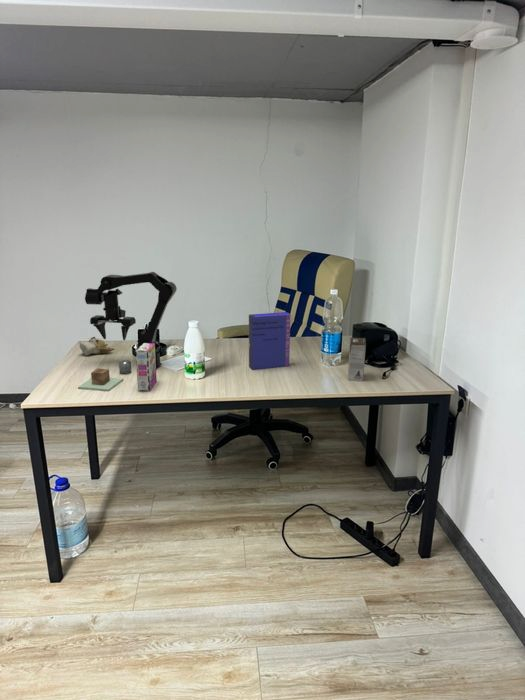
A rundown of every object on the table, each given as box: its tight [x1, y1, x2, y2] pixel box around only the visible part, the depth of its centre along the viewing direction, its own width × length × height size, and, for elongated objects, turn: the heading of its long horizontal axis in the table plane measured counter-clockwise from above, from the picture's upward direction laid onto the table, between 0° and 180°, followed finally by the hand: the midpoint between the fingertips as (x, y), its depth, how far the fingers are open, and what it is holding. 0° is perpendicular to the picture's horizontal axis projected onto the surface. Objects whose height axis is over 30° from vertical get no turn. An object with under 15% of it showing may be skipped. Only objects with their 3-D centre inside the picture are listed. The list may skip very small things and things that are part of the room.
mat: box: [77, 377, 124, 392], centre depth 188 cm, size 13×12×1 cm
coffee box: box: [347, 337, 367, 382], centre depth 195 cm, size 9×6×16 cm
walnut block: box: [90, 368, 111, 385], centre depth 187 cm, size 5×5×5 cm
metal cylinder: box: [118, 359, 133, 376], centre depth 201 cm, size 5×5×5 cm
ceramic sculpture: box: [78, 336, 115, 356], centre depth 226 cm, size 11×9×15 cm
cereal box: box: [248, 311, 291, 371], centre depth 207 cm, size 17×5×24 cm, turn 108°
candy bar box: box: [135, 343, 158, 392], centre depth 184 cm, size 11×5×16 cm, turn 178°
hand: (114, 339), depth 207 cm, fingers open, 9 cm apart
